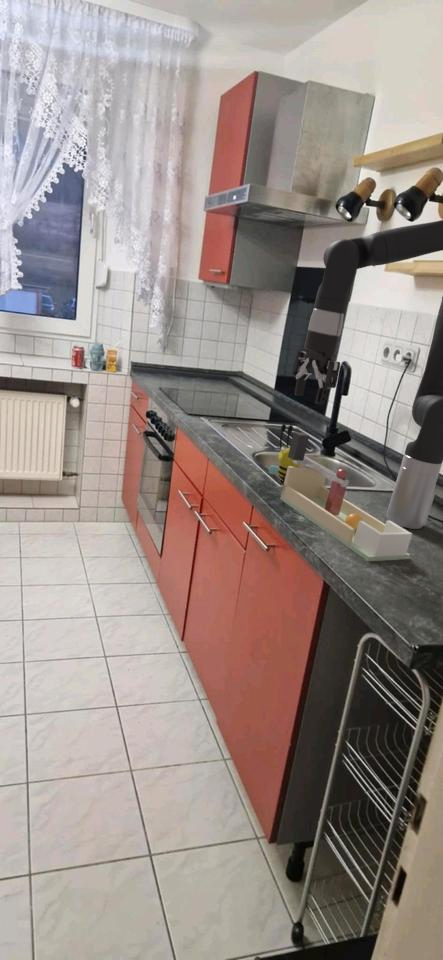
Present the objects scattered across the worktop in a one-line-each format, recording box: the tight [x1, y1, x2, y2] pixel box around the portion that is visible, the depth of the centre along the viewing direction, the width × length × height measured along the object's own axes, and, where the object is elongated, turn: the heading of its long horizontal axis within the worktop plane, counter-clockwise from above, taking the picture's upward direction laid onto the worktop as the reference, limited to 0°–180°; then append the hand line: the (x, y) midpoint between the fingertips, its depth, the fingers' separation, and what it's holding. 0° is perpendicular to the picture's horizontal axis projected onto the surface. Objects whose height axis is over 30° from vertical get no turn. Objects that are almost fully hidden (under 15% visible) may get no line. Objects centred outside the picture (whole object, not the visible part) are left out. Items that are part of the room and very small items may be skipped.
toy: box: [268, 423, 301, 483], centre depth 171 cm, size 6×14×15 cm
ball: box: [345, 513, 363, 531], centre depth 140 cm, size 4×4×4 cm
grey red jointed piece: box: [288, 431, 350, 515], centre depth 150 cm, size 6×18×15 cm, turn 28°
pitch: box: [279, 466, 413, 562], centre depth 143 cm, size 12×34×9 cm, turn 28°
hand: (308, 399), depth 147 cm, fingers open, 8 cm apart
